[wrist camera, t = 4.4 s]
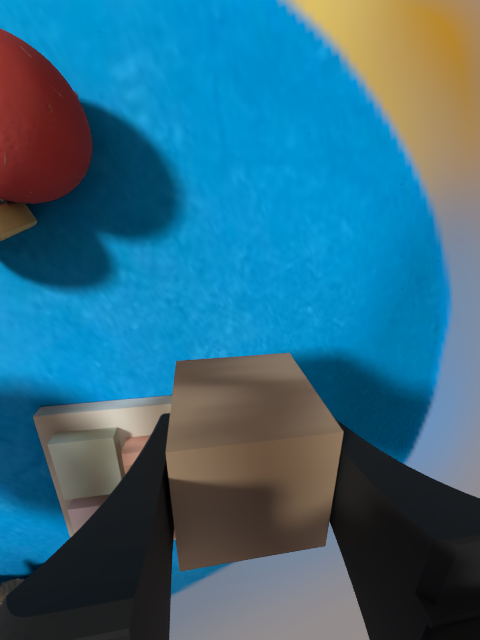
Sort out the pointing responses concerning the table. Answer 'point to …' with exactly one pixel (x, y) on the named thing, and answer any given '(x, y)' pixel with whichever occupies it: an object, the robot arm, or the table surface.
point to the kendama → (36, 134)
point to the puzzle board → (94, 448)
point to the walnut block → (248, 460)
